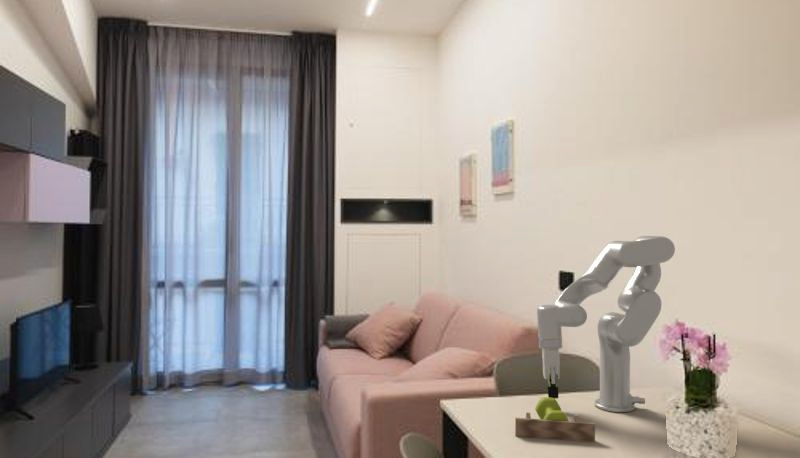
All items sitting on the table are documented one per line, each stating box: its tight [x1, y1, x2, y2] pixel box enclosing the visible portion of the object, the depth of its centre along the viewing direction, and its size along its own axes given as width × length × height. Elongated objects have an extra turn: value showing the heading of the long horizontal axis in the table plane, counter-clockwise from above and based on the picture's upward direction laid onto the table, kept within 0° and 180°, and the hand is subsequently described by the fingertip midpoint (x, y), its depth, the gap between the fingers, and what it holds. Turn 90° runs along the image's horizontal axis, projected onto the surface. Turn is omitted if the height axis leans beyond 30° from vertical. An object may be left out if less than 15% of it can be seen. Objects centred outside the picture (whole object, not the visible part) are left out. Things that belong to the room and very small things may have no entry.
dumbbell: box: [534, 396, 570, 421], centre depth 173 cm, size 16×8×7 cm, turn 175°
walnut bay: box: [514, 412, 596, 443], centre depth 170 cm, size 22×11×5 cm, turn 79°
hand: (553, 397), depth 190 cm, fingers closed
